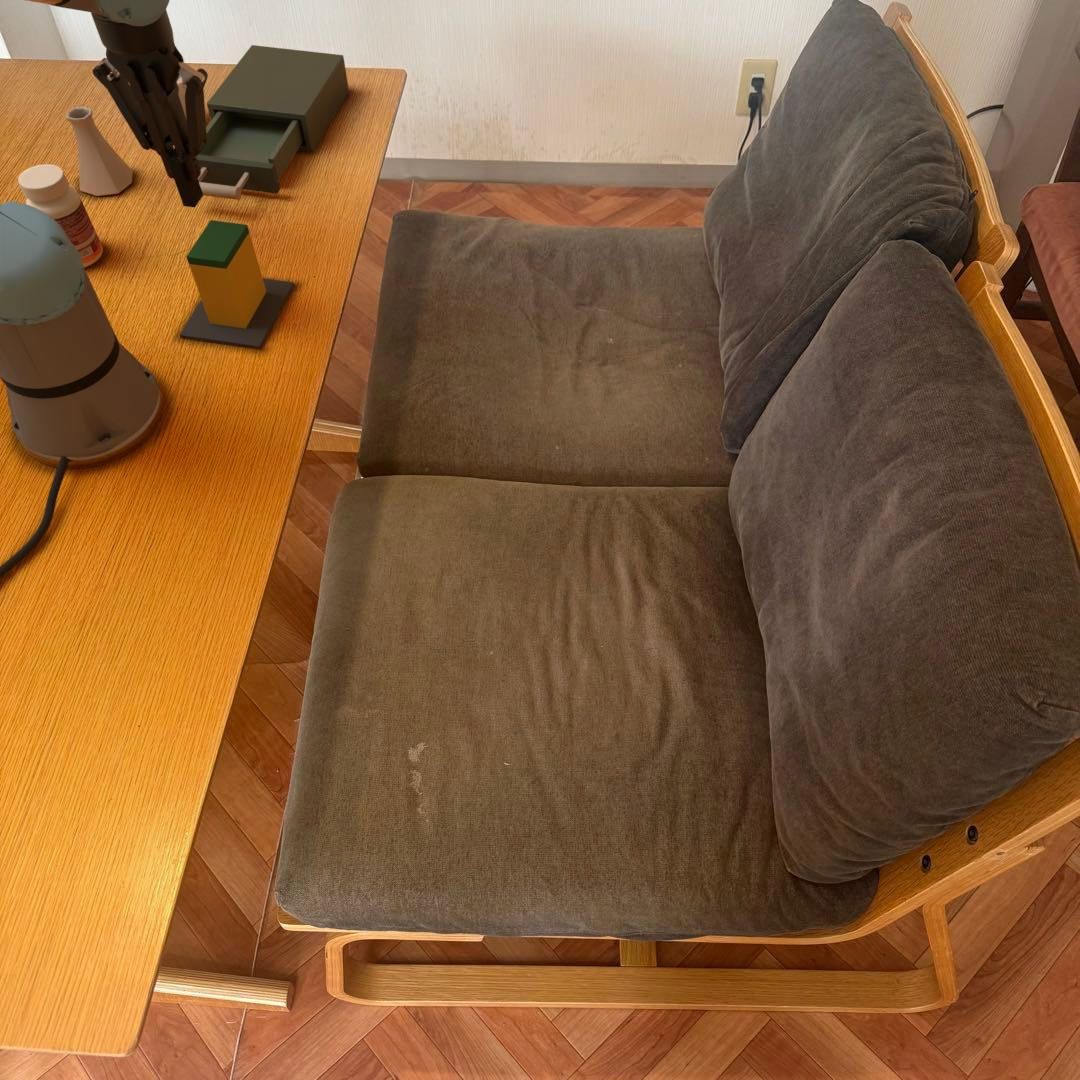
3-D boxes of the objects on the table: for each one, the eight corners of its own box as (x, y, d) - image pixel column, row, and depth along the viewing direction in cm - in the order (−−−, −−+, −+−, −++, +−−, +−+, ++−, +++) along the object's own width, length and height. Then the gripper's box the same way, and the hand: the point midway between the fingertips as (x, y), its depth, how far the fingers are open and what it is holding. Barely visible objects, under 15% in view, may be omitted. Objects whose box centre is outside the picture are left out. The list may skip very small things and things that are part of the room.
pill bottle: (109, 241, 117) (74, 160, 108) (97, 271, 113) (60, 190, 104) (61, 241, 116) (22, 161, 107) (47, 271, 113) (6, 190, 104)
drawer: (264, 216, 119) (257, 190, 116) (169, 204, 120) (159, 178, 117) (316, 130, 132) (311, 105, 128) (230, 120, 133) (223, 94, 130)
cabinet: (312, 152, 130) (304, 115, 125) (217, 140, 131) (206, 103, 127) (349, 91, 140) (343, 54, 135) (260, 81, 141) (251, 44, 137)
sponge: (245, 329, 107) (224, 261, 99) (210, 324, 107) (185, 256, 99) (266, 291, 111) (247, 224, 103) (232, 287, 111) (210, 219, 103)
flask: (142, 169, 126) (116, 100, 118) (123, 199, 122) (94, 129, 114) (92, 166, 127) (63, 96, 119) (71, 195, 122) (40, 125, 114)
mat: (260, 349, 105) (259, 346, 105) (180, 337, 106) (178, 334, 106) (294, 285, 112) (294, 282, 112) (219, 275, 113) (218, 272, 113)
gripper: (198, -8, 96) (253, 189, 115) (85, -20, 97) (157, 178, 116) (169, 25, 91) (230, 224, 111) (50, 12, 93) (132, 211, 112)
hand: (193, 200), depth 113 cm, fingers closed
